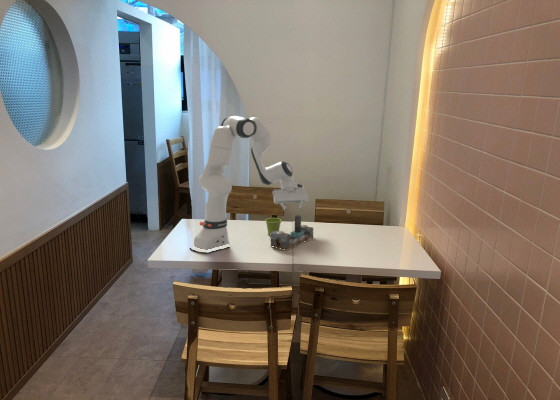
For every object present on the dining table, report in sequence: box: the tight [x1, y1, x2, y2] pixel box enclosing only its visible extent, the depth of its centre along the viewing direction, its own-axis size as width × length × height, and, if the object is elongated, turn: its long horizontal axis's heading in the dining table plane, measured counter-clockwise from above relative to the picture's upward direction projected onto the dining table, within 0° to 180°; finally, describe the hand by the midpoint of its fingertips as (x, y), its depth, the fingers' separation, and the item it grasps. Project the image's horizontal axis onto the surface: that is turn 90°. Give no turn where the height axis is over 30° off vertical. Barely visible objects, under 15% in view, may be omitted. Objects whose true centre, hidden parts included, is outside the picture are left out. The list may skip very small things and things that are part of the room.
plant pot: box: [265, 217, 282, 235], centre depth 266 cm, size 9×9×9 cm
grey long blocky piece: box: [270, 224, 314, 251], centre depth 253 cm, size 27×10×9 cm, turn 144°
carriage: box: [290, 214, 304, 238], centre depth 256 cm, size 6×5×12 cm
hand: (293, 208), depth 263 cm, fingers open, 8 cm apart
